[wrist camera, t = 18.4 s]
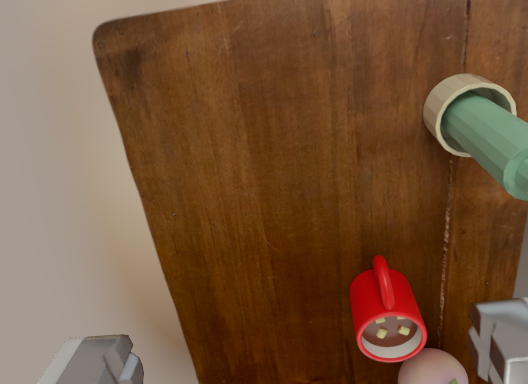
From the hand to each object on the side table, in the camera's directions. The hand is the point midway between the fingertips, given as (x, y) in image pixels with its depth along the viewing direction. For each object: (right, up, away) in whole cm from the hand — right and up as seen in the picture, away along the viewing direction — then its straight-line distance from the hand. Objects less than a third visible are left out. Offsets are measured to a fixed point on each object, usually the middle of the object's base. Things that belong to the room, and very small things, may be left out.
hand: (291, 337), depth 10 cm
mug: (+14, -8, +43) cm, 45 cm away
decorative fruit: (+22, -19, +48) cm, 56 cm away
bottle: (+19, +12, +31) cm, 38 cm away
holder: (+19, +12, +32) cm, 39 cm away
